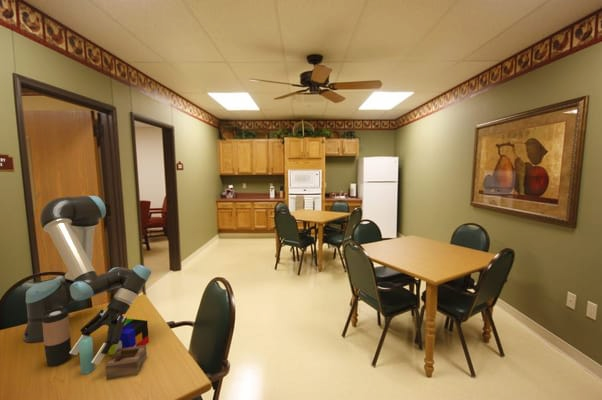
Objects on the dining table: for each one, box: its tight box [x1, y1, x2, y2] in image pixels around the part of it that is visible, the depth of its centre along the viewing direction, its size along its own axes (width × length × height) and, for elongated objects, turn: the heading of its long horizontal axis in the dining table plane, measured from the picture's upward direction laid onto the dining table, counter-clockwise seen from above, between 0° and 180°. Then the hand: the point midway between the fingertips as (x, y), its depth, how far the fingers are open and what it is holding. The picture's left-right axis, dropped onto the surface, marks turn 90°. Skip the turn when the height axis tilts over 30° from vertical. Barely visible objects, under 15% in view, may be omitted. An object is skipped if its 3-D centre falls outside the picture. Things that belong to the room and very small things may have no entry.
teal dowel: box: [78, 336, 96, 375], centre depth 99 cm, size 4×4×12 cm
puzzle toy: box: [106, 318, 150, 356], centre depth 112 cm, size 10×10×10 cm
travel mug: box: [42, 307, 72, 368], centre depth 104 cm, size 8×8×20 cm
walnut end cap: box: [104, 344, 148, 380], centre depth 101 cm, size 10×10×5 cm
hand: (83, 358), depth 98 cm, fingers open, 13 cm apart
